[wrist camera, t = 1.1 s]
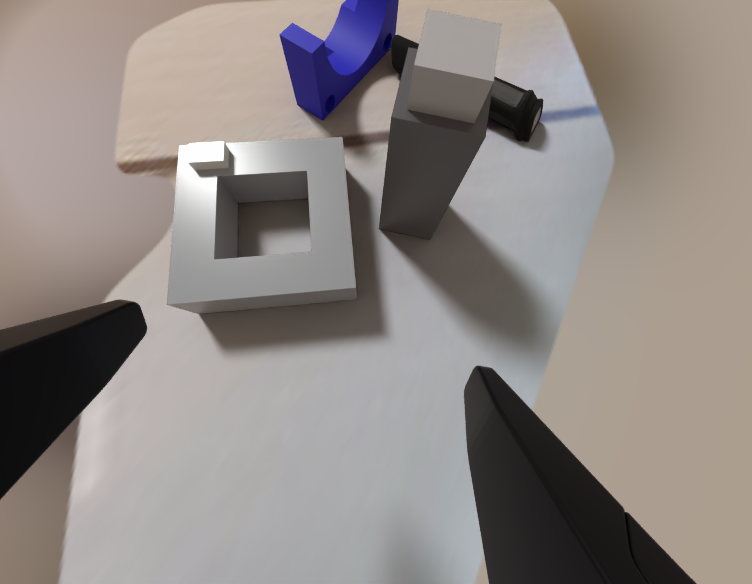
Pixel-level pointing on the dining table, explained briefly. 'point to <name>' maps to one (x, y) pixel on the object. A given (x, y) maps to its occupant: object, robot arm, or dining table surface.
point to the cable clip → (338, 53)
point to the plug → (437, 120)
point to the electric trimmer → (492, 97)
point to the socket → (220, 225)
